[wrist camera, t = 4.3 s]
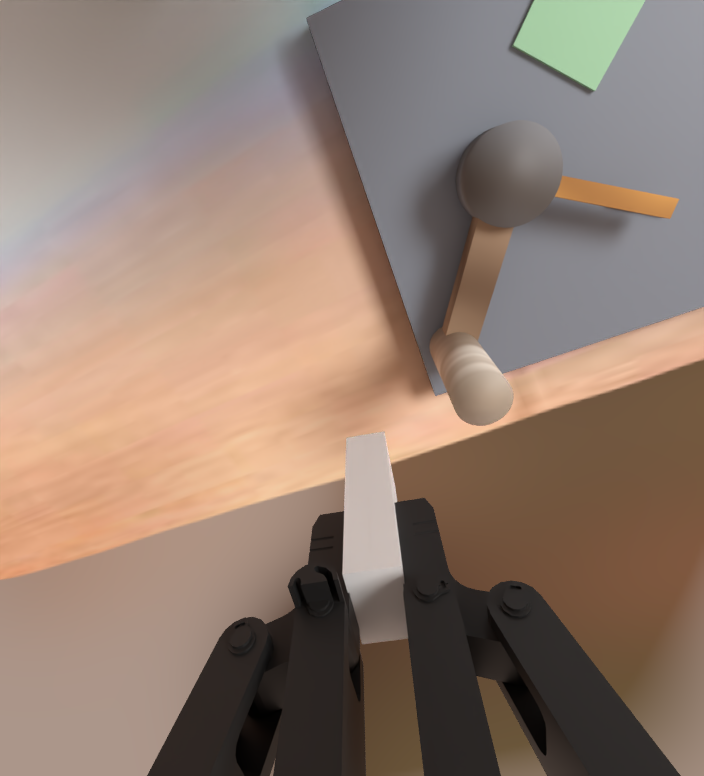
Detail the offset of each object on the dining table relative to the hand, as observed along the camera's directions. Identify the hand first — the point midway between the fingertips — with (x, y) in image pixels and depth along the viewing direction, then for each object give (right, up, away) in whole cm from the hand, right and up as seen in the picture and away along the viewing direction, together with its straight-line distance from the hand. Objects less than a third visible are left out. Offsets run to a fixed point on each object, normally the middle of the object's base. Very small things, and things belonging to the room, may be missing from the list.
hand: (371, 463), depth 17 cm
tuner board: (+9, +14, +6) cm, 18 cm away
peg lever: (+9, +9, +6) cm, 14 cm away
